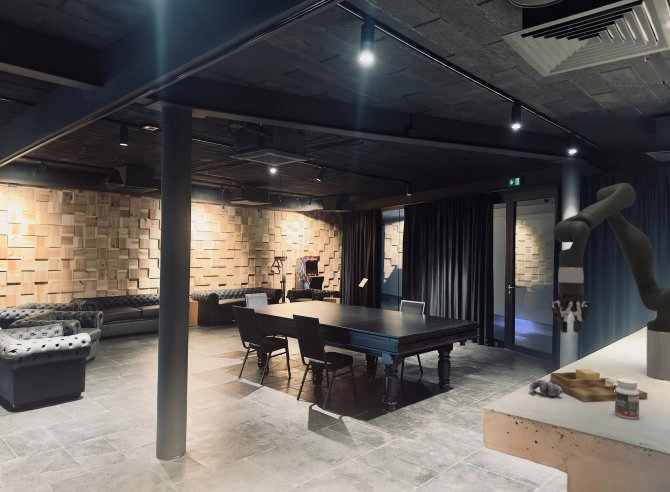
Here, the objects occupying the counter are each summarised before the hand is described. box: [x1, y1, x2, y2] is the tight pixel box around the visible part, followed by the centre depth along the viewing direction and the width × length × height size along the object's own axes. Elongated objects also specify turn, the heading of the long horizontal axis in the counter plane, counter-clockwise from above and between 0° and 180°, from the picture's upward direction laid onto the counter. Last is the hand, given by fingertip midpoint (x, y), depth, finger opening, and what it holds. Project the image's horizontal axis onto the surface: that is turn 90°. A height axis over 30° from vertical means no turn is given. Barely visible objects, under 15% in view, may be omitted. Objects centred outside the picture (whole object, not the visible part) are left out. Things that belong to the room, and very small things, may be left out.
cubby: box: [550, 371, 605, 388], centre depth 152 cm, size 14×9×2 cm, turn 99°
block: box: [575, 368, 601, 379], centre depth 153 cm, size 5×5×4 cm
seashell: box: [529, 379, 564, 398], centre depth 146 cm, size 5×5×10 cm
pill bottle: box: [614, 377, 640, 420], centre depth 128 cm, size 6×6×10 cm
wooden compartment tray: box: [549, 377, 648, 403], centre depth 150 cm, size 22×17×2 cm
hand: (570, 332), depth 152 cm, fingers open, 4 cm apart
